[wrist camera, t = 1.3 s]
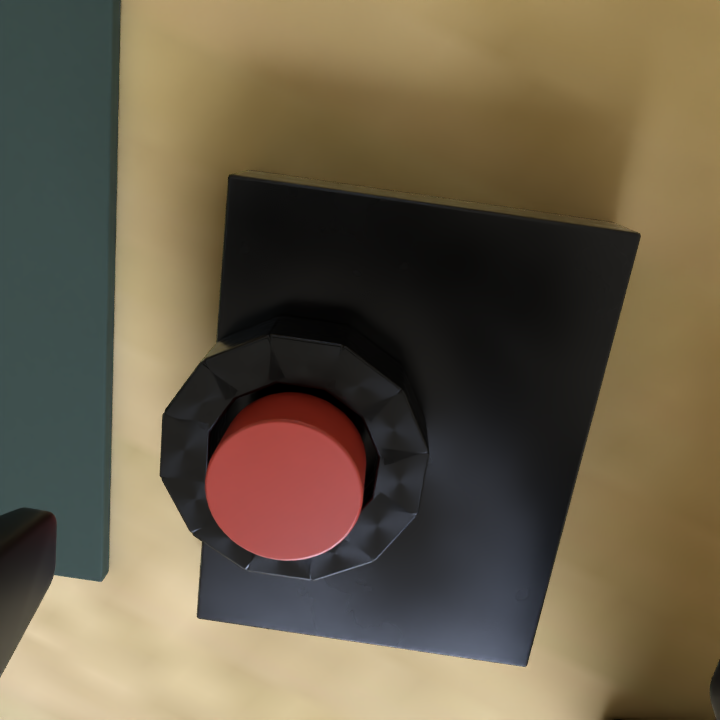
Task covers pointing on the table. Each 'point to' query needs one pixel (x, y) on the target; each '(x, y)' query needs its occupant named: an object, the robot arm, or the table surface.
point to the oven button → (287, 477)
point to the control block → (406, 403)
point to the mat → (59, 268)
